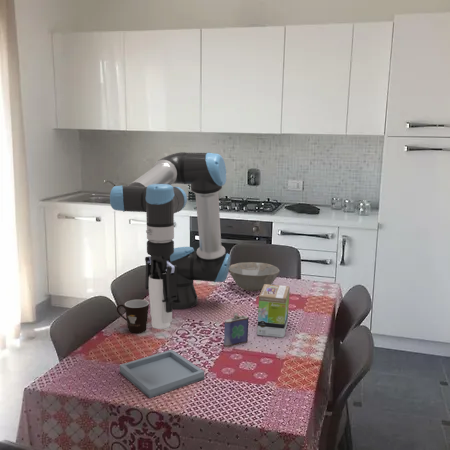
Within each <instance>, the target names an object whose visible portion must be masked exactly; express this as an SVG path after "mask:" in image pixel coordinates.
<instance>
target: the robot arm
mask: <svg viewBox="0 0 450 450" xmlns="http://www.w3.org/2000/svg"><path fill="white" fill-rule="evenodd" d="M226 181H227V169H226V162H225V160H224V158H223V156H222V155H221V154H219V153H211V152H185V151H184V152H181V151H180V152H175V153H172V154H169V155H167V156H164V157H162V158H160V159H158V160H157V161H155V162H154V164H152V166H151V168H150V169H149V170H147V171H146V172H145V173H143V174H141V176H139V177H138V178H136V179H135V180H133V181H132V182H131V183H129V184H128V185H122V184H121V185H115V186H113V187H112V188H111V190H110V193H109V204H110V207H111V208H112V210H115V211H119V212H133V213H138V212H139V213H146V215H145V216H146V230H145V233H146V239H147V241H146V253H147V255H149V256H145V257H144V262H145V284H144V285H145V290H147V291H148V292H149V276H150V275H152V279H160V278H161V279H162V280H163V295H164V300H162V310H163V323H164V324H165V323H169V322H170V323H172V322H173V309H175V310H176V309H177V310H179V309H180V310H184V309H190V308H192V307H195V306H196V305H198V301H199V300H198V298H199V297H198V295H197V292H196V288H195V286H194V281H201V282H211V283H212V282H214V283H224V282H225V281H226V280H227V279H228V278H227V277H228V275H229V266H230V265H231V254H229V253H228V252H227V253H226V248H225V247H224V246H223V245H222V236H221V234H222V233H221V231H222V230H221V217H220V216H221V215H220V201H219V200H220V199H219V193H220V191H222V189H223V186H225V185H226ZM174 184H179V185H190V190H191V192H192V193H193V194H195V195H194V196H195V205H196V215H197V217H196V218H197V228H198V239H199V247H198V248H197V249H196V251H195V249H194V247H191V246H179V247H175V242H174V239H175V225H174V224H175V223H174V221H175V220H174V219H175V214H176V213H179V212H181V211H182V210H183V209H184V208H185V207H186V205H187V203H188V196H187V193H186V191H185V190H184V189H182V188H181V187H179V186H173V185H174ZM163 273H166V274H163ZM149 313H150V314H149V315H150V317H151V308H150V307H149Z"/></svg>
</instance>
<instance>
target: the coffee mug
mask: <svg viewBox="0 0 450 450" xmlns="http://www.w3.org/2000/svg"><path fill="white" fill-rule="evenodd" d="M120 307H123V308H124V309H125V310H124V312H125V316H126V317H125V316H124V315H123V314H122V313H121V312H120V311H119V308H120ZM149 310H150V301H149V300H145V299H131V300H128V301H125V302H124V305H123V304H119V305H117V307H116V312H117V314H118V315H119V316H120V317H121V318H122V319H124V321H125V322H126V324H127V331H128V332H129V333H130V334H135V335H137V334H139V335H140V334H143V333H146V331H147V328H148V327H147V325H148V317H149Z"/></svg>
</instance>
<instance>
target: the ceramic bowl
mask: <svg viewBox="0 0 450 450" xmlns="http://www.w3.org/2000/svg"><path fill="white" fill-rule="evenodd" d="M228 273H229V274H230V276H231V277H232V279H233V280H234V283H235V284H236V285H237V286H238V288H240V289H242V290H244V291H247V292H253V293H254V292H255V293H256V292H261V290H262V288H263V286H264V284H269V285H273V283H274V282H275V280H276V279H277V277H278V276H279V274H280V269H279V267H278V266H275V265H273V264H270V263H266V262H254V261H252V262H251V261H249V262H238V263H237V262H236V263H234V264H233V263H232V264H230V266H229V271H228Z"/></svg>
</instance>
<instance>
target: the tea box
mask: <svg viewBox="0 0 450 450" xmlns="http://www.w3.org/2000/svg"><path fill="white" fill-rule="evenodd" d="M290 289H291V288H290V286H289V285H280V284H271V285H269V284H264V286H263V288H262V290H261V291H260V293H259V295H258V309H257V310H258V311H257V328H256V335H257V336H264V337H274V338H275V337H276V338H284V337H285V335H286V331H287V327H288V321H289V309H290V307H289V306H290Z"/></svg>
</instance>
